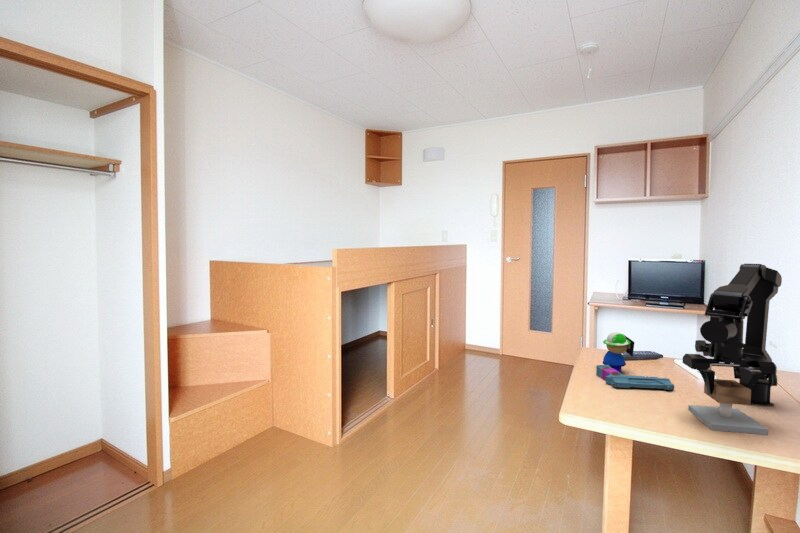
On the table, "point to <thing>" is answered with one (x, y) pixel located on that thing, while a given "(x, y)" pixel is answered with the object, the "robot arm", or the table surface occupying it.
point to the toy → (617, 350)
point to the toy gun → (631, 379)
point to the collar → (729, 392)
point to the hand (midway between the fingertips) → (726, 394)
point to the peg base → (727, 419)
